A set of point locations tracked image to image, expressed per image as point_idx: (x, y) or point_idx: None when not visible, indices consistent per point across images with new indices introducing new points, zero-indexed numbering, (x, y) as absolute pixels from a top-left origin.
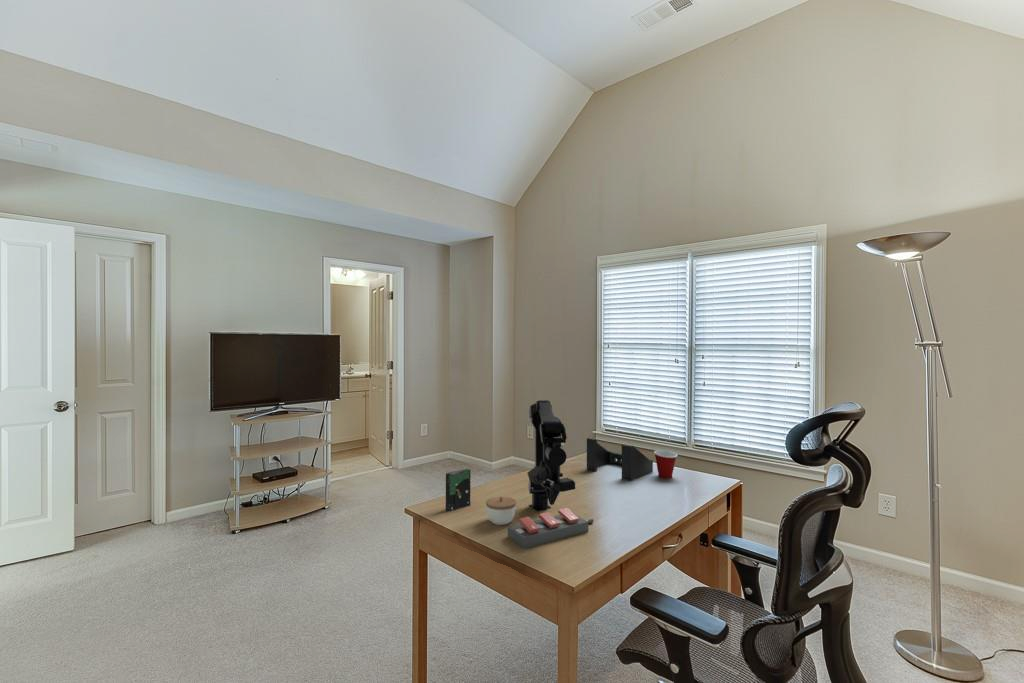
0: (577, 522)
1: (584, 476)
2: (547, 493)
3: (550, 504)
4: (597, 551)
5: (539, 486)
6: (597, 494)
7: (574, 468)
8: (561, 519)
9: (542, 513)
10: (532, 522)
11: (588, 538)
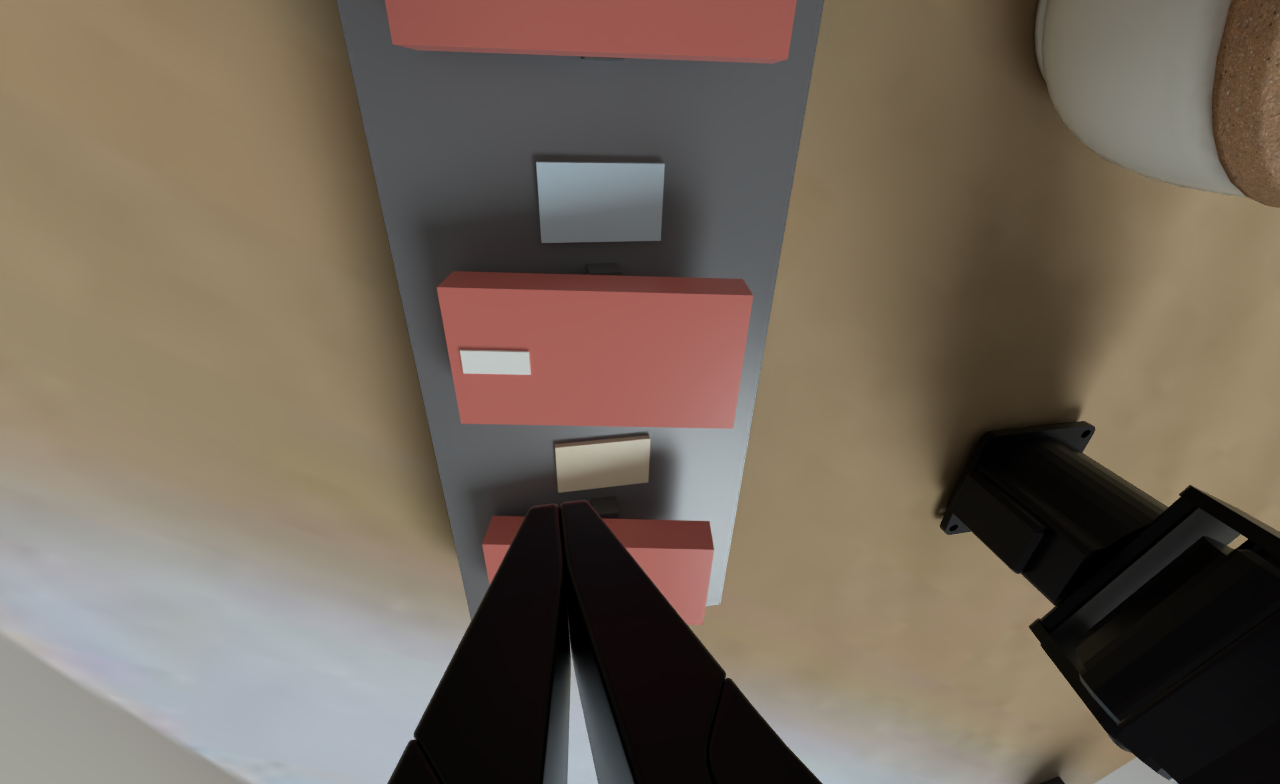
0: None
1: (1039, 760)
2: (669, 732)
3: (563, 502)
4: (55, 485)
5: (1190, 615)
6: (872, 751)
7: (1119, 753)
8: (637, 493)
9: (740, 345)
10: (586, 8)
11: (368, 530)
